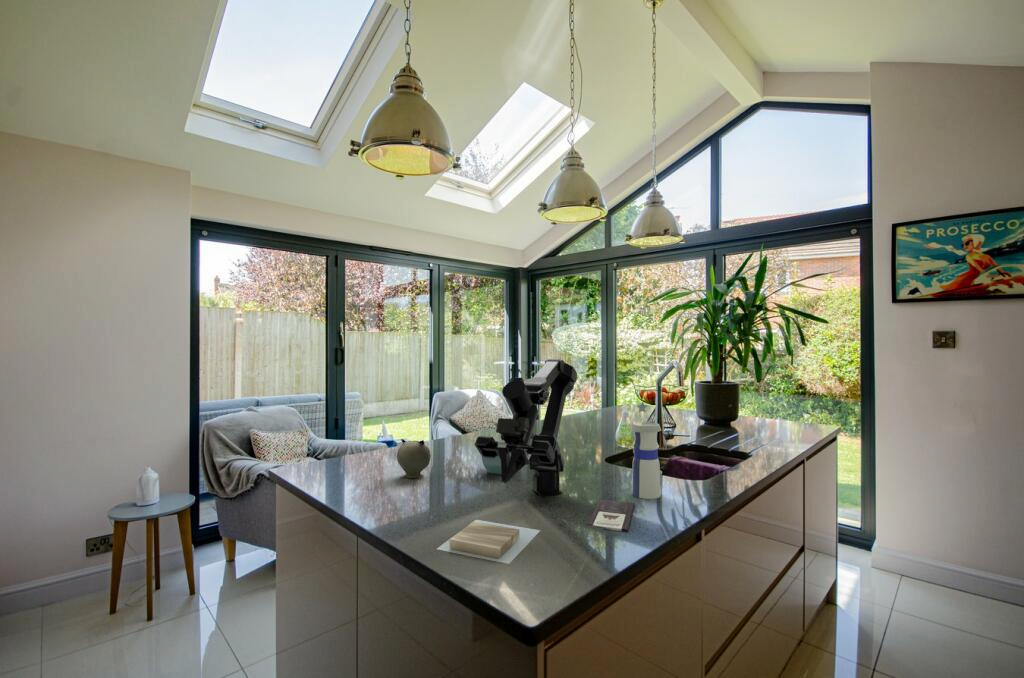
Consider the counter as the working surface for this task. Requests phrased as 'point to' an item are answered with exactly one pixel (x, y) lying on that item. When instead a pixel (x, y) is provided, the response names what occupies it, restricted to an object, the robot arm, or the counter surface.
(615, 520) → the chocolate bar
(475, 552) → the birch tile
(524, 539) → the light gray mat
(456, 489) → the counter surface
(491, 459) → the flower pot
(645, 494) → the water bottle
